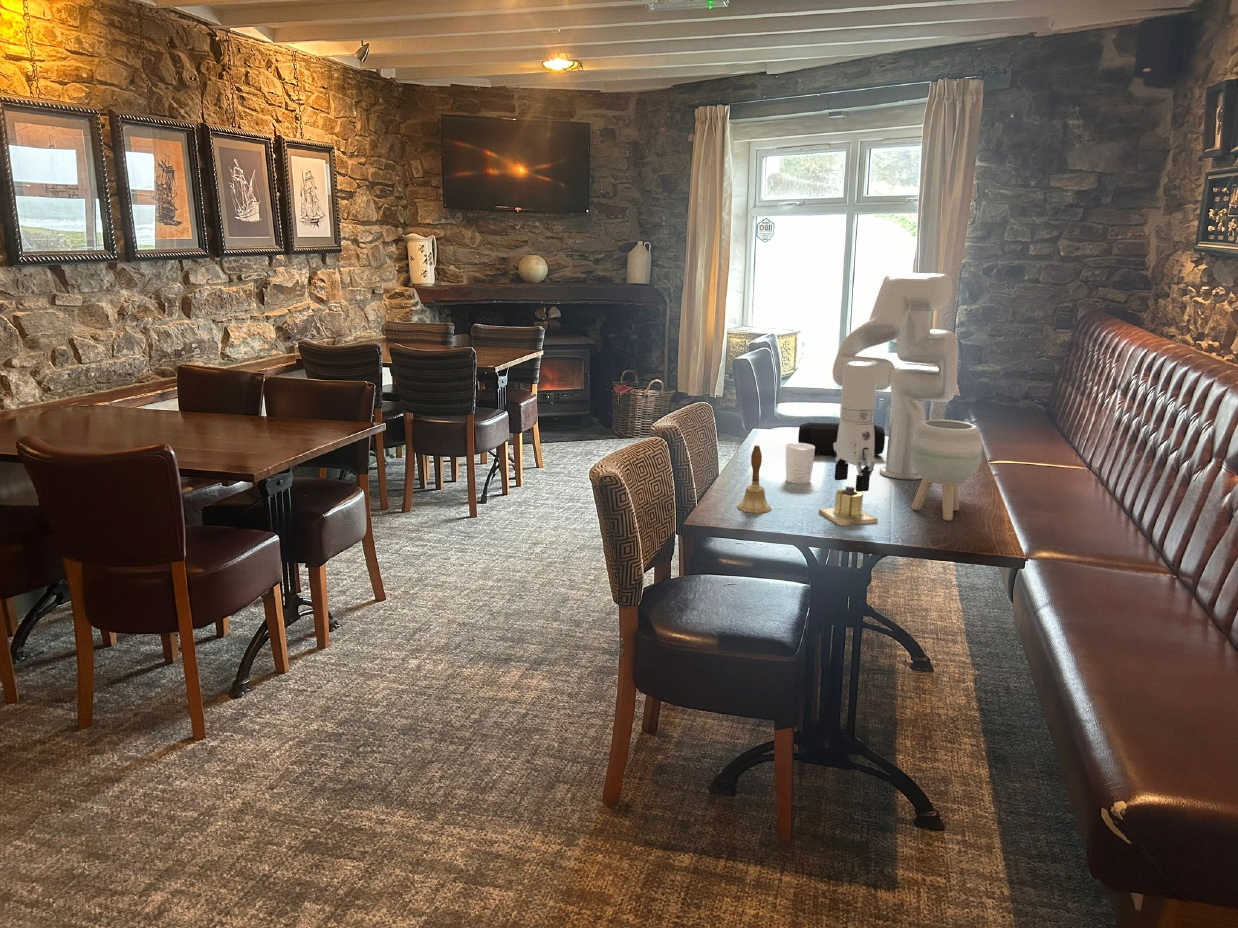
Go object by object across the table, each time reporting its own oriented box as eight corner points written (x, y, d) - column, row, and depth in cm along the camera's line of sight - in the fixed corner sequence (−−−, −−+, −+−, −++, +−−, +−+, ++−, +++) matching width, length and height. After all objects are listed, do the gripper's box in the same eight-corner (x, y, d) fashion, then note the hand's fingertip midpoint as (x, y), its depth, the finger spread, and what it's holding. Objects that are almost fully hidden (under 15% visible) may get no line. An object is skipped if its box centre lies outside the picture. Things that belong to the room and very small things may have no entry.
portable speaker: (800, 456, 267) (802, 425, 264) (797, 449, 276) (799, 419, 274) (883, 459, 264) (886, 428, 262) (877, 452, 274) (880, 422, 271)
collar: (852, 508, 208) (854, 488, 207) (865, 515, 203) (867, 495, 201) (830, 510, 207) (832, 490, 205) (843, 517, 201) (844, 497, 200)
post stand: (855, 510, 211) (857, 481, 209) (877, 522, 201) (880, 492, 200) (818, 512, 208) (821, 483, 206) (839, 525, 199) (841, 494, 197)
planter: (968, 507, 215) (978, 420, 210) (979, 526, 200) (991, 433, 195) (901, 502, 219) (910, 416, 213) (907, 520, 204) (917, 428, 198)
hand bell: (763, 515, 206) (767, 451, 202) (731, 509, 210) (735, 446, 206) (776, 507, 212) (780, 444, 209) (745, 501, 217) (748, 440, 213)
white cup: (812, 485, 233) (815, 449, 231) (783, 483, 235) (785, 448, 232) (812, 478, 241) (814, 443, 238) (783, 476, 242) (786, 442, 240)
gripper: (891, 422, 192) (885, 494, 196) (851, 407, 208) (846, 474, 212) (861, 423, 190) (855, 497, 194) (824, 408, 206) (819, 476, 211)
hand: (851, 485), depth 203 cm, fingers open, 9 cm apart
